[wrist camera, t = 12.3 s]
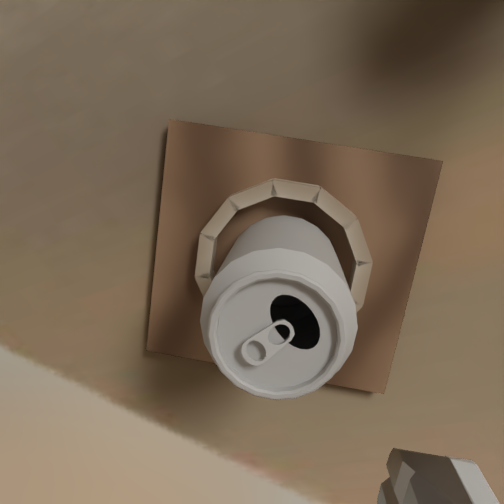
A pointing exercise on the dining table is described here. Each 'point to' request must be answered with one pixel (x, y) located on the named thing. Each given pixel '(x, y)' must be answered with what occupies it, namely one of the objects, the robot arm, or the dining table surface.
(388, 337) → the seat board
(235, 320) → the can
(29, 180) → the dining table surface
